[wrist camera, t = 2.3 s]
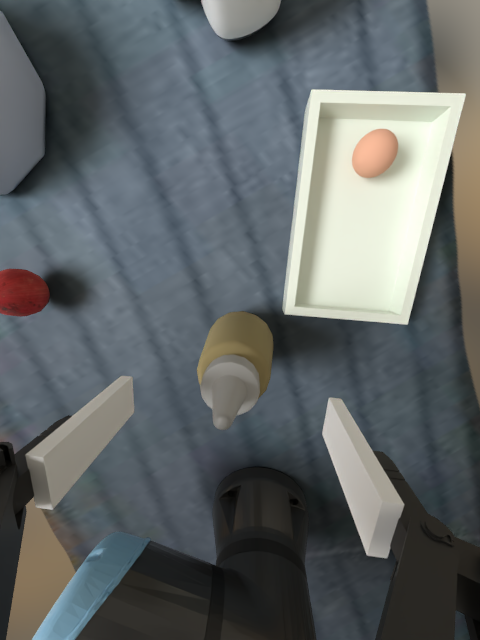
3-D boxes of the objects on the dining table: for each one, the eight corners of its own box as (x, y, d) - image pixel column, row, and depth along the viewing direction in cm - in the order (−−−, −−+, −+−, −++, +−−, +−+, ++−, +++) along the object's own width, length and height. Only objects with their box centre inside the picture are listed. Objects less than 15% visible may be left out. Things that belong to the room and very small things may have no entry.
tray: (391, 318, 29) (407, 324, 26) (282, 309, 30) (284, 314, 27) (439, 115, 24) (466, 93, 21) (304, 111, 25) (311, 89, 22)
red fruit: (72, 303, 32) (13, 315, 25) (39, 315, 33) (-28, 330, 25) (52, 262, 31) (-16, 262, 23) (18, 276, 32) (-58, 279, 24)
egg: (380, 184, 25) (402, 169, 21) (343, 182, 26) (358, 167, 22) (388, 142, 24) (412, 119, 20) (349, 141, 25) (366, 118, 21)
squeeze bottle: (201, 330, 32) (132, 410, 14) (245, 293, 30) (228, 332, 13) (238, 372, 33) (217, 495, 15) (283, 338, 31) (316, 433, 14)
